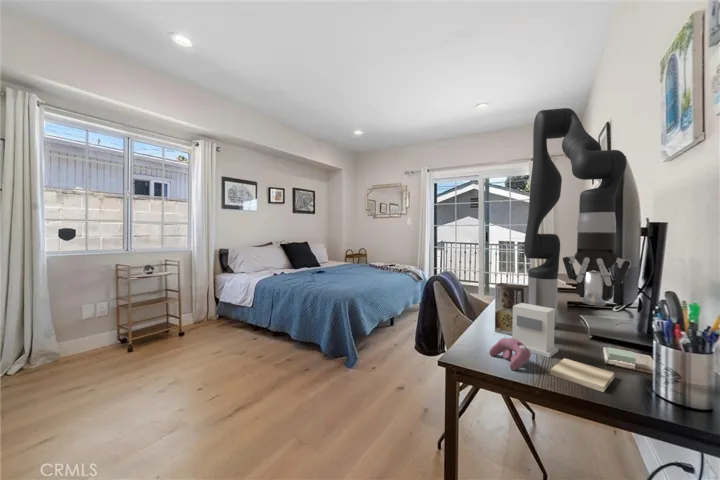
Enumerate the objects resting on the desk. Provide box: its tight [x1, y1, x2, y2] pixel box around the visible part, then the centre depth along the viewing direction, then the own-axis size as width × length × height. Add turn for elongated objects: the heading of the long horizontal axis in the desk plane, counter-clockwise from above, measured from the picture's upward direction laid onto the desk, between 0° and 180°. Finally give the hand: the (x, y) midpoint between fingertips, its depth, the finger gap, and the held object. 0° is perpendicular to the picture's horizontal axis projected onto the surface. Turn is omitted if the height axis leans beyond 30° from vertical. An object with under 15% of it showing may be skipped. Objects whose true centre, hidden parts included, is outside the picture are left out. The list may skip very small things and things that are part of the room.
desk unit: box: [511, 303, 560, 359], centre depth 86 cm, size 7×11×12 cm, turn 39°
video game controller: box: [488, 336, 532, 371], centre depth 77 cm, size 10×5×7 cm, turn 10°
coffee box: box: [494, 282, 529, 336], centre depth 99 cm, size 9×6×16 cm
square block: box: [607, 347, 637, 364], centre depth 76 cm, size 5×5×3 cm
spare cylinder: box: [582, 271, 606, 307], centre depth 74 cm, size 4×4×8 cm
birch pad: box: [549, 357, 615, 393], centre depth 69 cm, size 10×10×1 cm
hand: (594, 298), depth 75 cm, fingers closed on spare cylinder, 4 cm apart
